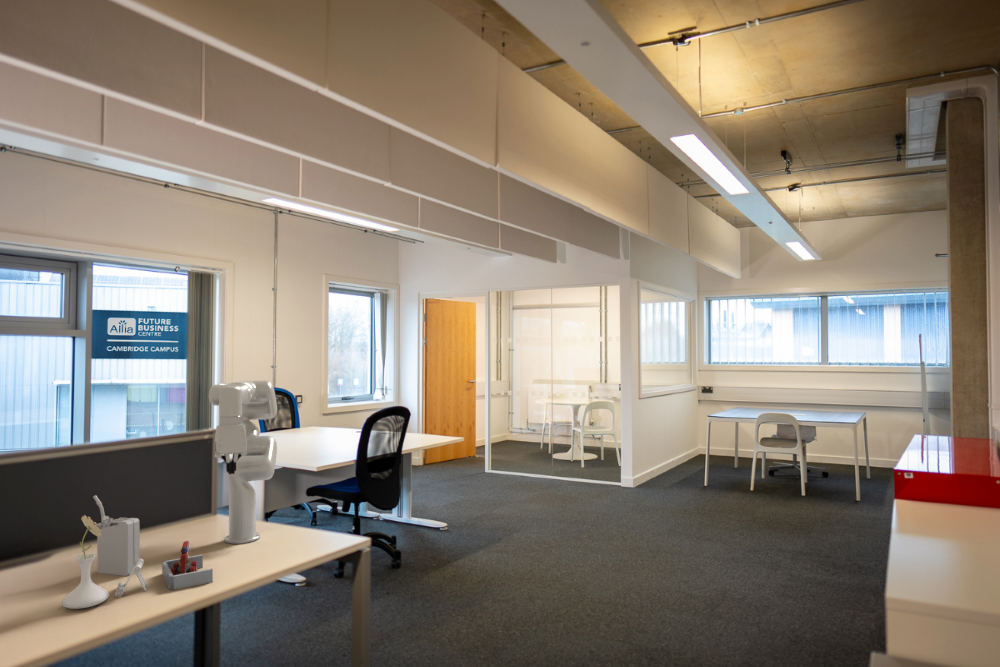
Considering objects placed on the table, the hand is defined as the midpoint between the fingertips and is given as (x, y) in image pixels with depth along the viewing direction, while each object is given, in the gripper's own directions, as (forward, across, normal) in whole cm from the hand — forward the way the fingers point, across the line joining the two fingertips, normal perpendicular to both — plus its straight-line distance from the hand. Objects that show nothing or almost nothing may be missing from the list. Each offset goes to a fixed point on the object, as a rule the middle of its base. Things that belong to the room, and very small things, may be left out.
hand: (231, 473), depth 232 cm
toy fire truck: (+29, +17, +13) cm, 36 cm away
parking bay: (+29, +16, +14) cm, 36 cm away
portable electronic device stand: (+29, +32, +16) cm, 46 cm away
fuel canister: (+29, +35, -7) cm, 46 cm away
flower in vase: (+29, +44, +20) cm, 57 cm away
